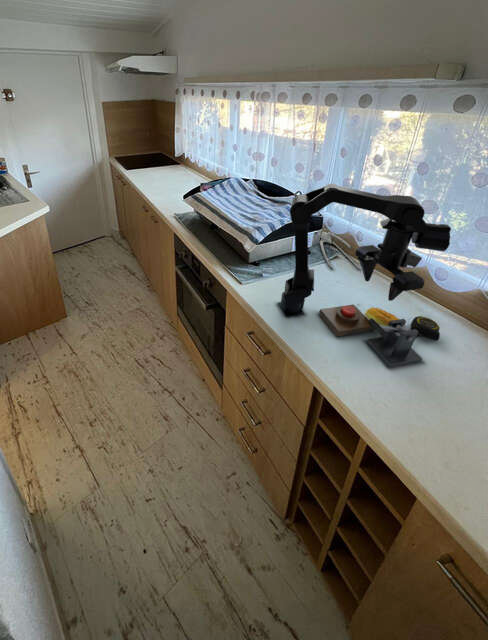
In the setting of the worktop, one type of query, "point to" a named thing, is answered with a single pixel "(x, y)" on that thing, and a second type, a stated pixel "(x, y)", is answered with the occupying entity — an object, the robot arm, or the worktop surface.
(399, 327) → the lever
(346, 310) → the button
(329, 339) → the worktop surface
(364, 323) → the button block
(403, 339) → the bracket
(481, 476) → the worktop surface
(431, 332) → the tape measure
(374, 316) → the yellow donut
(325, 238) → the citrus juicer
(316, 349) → the worktop surface
